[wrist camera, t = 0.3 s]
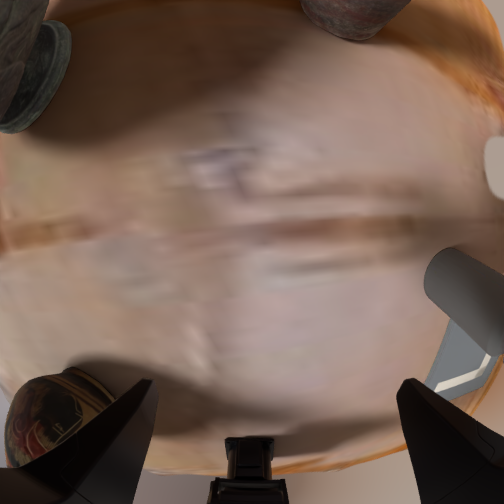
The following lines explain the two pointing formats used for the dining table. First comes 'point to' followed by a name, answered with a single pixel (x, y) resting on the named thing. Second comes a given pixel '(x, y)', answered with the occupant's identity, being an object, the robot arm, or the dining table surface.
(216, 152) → the dining table surface
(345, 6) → the candle
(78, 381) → the ceramic jug
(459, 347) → the pad
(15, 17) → the decorative bowl
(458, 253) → the bottle
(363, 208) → the dining table surface
